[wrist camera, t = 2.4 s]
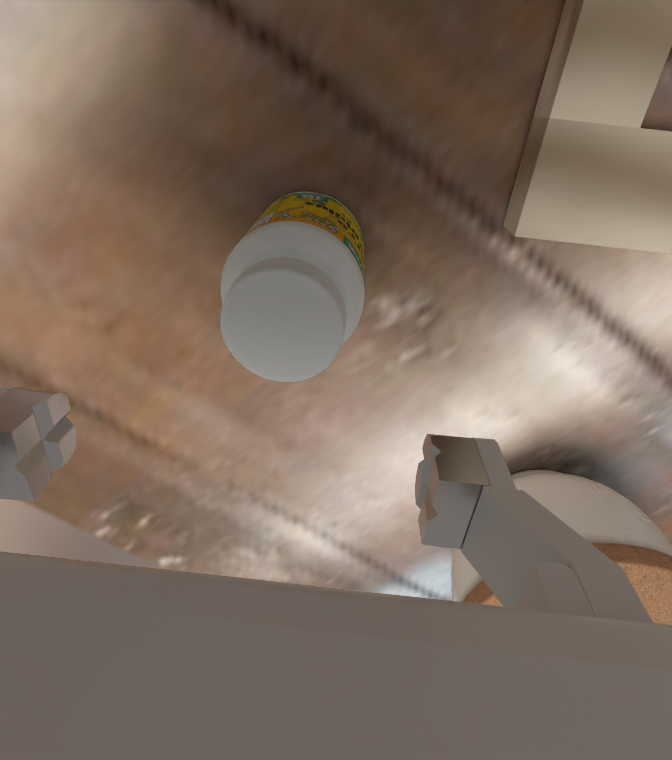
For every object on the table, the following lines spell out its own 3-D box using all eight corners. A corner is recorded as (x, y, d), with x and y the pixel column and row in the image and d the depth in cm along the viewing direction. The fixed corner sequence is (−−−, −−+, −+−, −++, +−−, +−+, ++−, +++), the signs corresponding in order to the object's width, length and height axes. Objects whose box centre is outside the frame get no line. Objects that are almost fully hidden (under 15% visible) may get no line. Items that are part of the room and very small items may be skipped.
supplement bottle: (234, 243, 23) (161, 323, 15) (310, 162, 21) (274, 202, 13) (311, 317, 25) (284, 425, 17) (387, 250, 23) (400, 335, 14)
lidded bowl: (467, 420, 28) (520, 585, 18) (669, 453, 28) (822, 630, 19) (415, 554, 34) (434, 727, 25) (579, 579, 35) (659, 758, 25)
